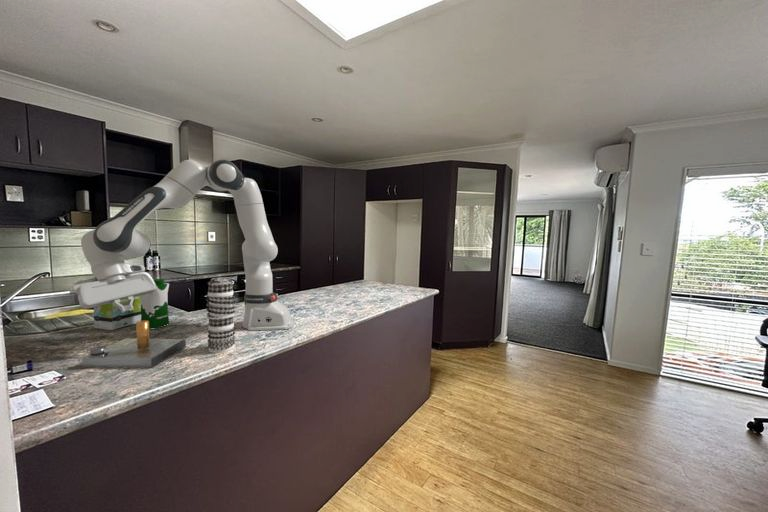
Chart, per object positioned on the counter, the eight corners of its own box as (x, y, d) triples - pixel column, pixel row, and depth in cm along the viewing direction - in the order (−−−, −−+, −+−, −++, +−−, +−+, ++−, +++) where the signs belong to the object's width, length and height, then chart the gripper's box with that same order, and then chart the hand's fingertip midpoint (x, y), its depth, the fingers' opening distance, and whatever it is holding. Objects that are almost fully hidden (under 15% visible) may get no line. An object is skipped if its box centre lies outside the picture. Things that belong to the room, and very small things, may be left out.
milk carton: (155, 330, 125) (153, 281, 124) (136, 328, 126) (134, 280, 125) (173, 323, 134) (171, 278, 132) (154, 322, 135) (153, 277, 133)
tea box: (113, 330, 123) (111, 294, 122) (93, 328, 125) (91, 293, 124) (148, 320, 138) (147, 288, 137) (130, 318, 140) (129, 286, 139)
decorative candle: (202, 353, 103) (200, 280, 101) (212, 343, 112) (211, 276, 110) (231, 352, 105) (230, 280, 103) (239, 342, 114) (238, 276, 112)
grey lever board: (185, 347, 108) (185, 338, 108) (152, 368, 92) (152, 357, 92) (125, 346, 107) (125, 337, 107) (82, 367, 91) (81, 356, 91)
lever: (88, 355, 91) (86, 328, 90) (93, 351, 94) (91, 324, 93) (148, 348, 97) (147, 322, 97) (150, 344, 101) (150, 319, 100)
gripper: (72, 278, 94) (89, 318, 92) (149, 264, 111) (164, 298, 110) (68, 286, 97) (85, 325, 96) (143, 272, 114) (158, 305, 113)
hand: (128, 311), depth 103 cm, fingers closed
